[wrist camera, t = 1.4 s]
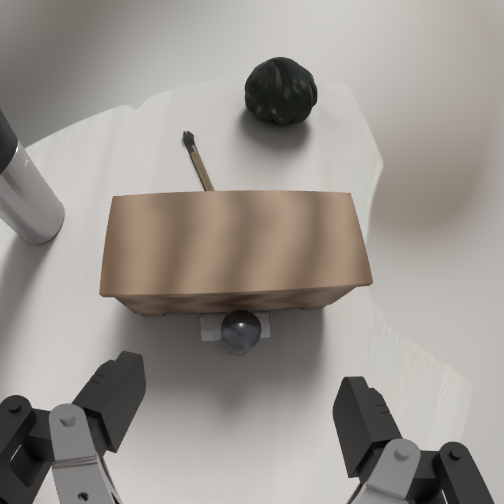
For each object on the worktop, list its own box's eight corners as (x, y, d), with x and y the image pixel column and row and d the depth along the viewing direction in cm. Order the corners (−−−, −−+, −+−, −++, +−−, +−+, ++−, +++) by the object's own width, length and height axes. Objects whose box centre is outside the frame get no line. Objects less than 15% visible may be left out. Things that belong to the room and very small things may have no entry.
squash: (326, 85, 54) (291, 34, 43) (330, 127, 48) (289, 67, 37) (273, 105, 62) (235, 62, 51) (267, 148, 56) (220, 100, 46)
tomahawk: (249, 218, 45) (251, 215, 44) (209, 228, 43) (210, 225, 42) (212, 130, 52) (212, 126, 51) (179, 136, 50) (179, 132, 49)
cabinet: (136, 320, 36) (99, 294, 24) (139, 246, 40) (112, 196, 28) (329, 310, 39) (373, 282, 27) (317, 240, 44) (350, 192, 32)
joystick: (202, 356, 35) (196, 351, 26) (199, 270, 40) (193, 238, 31) (271, 352, 36) (288, 345, 27) (263, 267, 41) (275, 235, 32)
